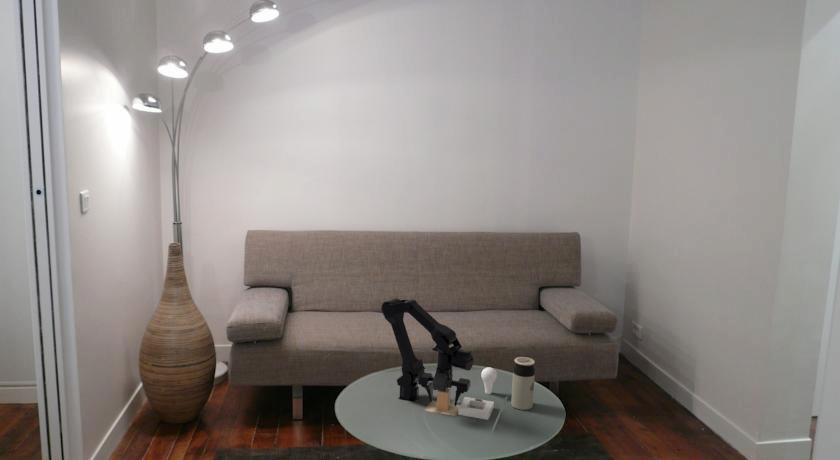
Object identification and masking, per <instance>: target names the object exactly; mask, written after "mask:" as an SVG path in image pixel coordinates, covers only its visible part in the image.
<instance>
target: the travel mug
mask: <svg viewBox="0 0 840 460" xmlns="http://www.w3.org/2000/svg"><path fill="white" fill-rule="evenodd" d="M514 362H515V364H514V366H513V368H512V369H513V370H512V385H511V386H512V387H511V400H510V401H511V403H510V405H511V406H512V407H513V408H515V409H518V410H520V411H521V410H523V411H526V410H530V409H532V408H533V405H534V404H533V403H534V391H535V389H534V387H535V375H536V373H535V371H536V369H535V367H534V365H535V362H536V361H535V360H534V359H533V358H531V357H528V356H527V357H526V356H519V357H515V358H514Z"/></svg>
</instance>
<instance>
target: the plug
mask: <svg viewBox="0 0 840 460" xmlns="http://www.w3.org/2000/svg"><path fill="white" fill-rule="evenodd" d="M451 389H452V388H446V390H445V391H440V390H436V391H437V392H436V401H437V409H438V410H443V411H447V410H448V409H449V407H450V404H451V393H452V391H451Z"/></svg>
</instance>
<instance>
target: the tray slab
mask: <svg viewBox="0 0 840 460" xmlns="http://www.w3.org/2000/svg"><path fill="white" fill-rule="evenodd" d="M460 405H461V404H457V405H456V406H455V403H450V407H449V409H448V410H447V411H443V410H438V409H437V400H434V399H433V400H432V402H430V401H429V403H428V404H427V406H426V407H425V408H424V410H423V411H426V412H432V413H437V414H442V415H446V416H447V415H448V416H453V417H457V415H458V410H459V407H460Z"/></svg>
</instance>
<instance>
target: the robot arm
mask: <svg viewBox="0 0 840 460" xmlns="http://www.w3.org/2000/svg"><path fill="white" fill-rule="evenodd" d="M380 310H381V312H382V314H383V316H384V319H385V320H386V321H387V322H388V323H389V324H390V326H391V328H392V331H393V334H394V338H395V341H396V345H397V348H398V351H399V354H400V357H401V360H402V362H401V373H402V374H401V375H400V376H399V377H398V378H397V379H396V383H397V385H398V386H399V397H398V398H397V399H398V400H400V401H406V402H413V403H414V402H415V401H416V400H417V399H419V395H420V387H419V385H420V386H421V387H422V388H424V389H425V390H426V392H427V395H428V399H429V403H430V402H432V400H433V401H434V391H438V390H440V391H445V390H446V388H449V389H452V387H456V390H455V397H454V398H455V399H454V404H455V406H456V405H458V402H459V400H460V397H461V395H462V394H465V393H468V391H469V390H470V388H471V379H467V378H463V377H460V378H459V379H458V380H453V378H454V375H453V370H454V369H453V368H457V369H460V370H465V371H468V372H469V371H471V369H472V368H473V365H474V357H473V355H472V351H471V350H466V349H462V348H463V346H462V344H461V343H460V341H459V339H458V337H457V333H456V332H455V330H453V329H452V328H451V327H449V326H447V325H445V324H442V323H441V322H438V321H437V320H436V319H435V318H434V317H433V316H432V315H431V314H430V313H428V312H427V310H425V309H424V308H423V307H422V306H421V305H420V304H419V303H418V302H417V301H416V300H415V299H412V298H411V299H399V298H395V297H394V298H391V299H389V300H386V301H384V302H383V303H382V304H381V308H380ZM405 313H408V314H409V315H410V316H411V317H412V318H413V319H415V320H416V322H418V323H419V324H420V325H421V326H422V327H423V328H424V329H425V331H427V332H428V333H429V334H430V337H431V339H432V340H433V342H434V343H435V346H434V347H433V348H432V351H433V352H437V359H436V361H437V362H436V370H435V374H434V375H433V373H431V372H425V369H426V367H425V366H424V363H423V362H424V361H423V360H422V359H421V358H420V359H418V358H417V357H416V355H415V351H414V350H413V345H412V343H411V339H410V337H409V334H408V330H407V327H406V324H405V322H404V316H405ZM451 345H453V346H451ZM450 346H451V347H450Z"/></svg>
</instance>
